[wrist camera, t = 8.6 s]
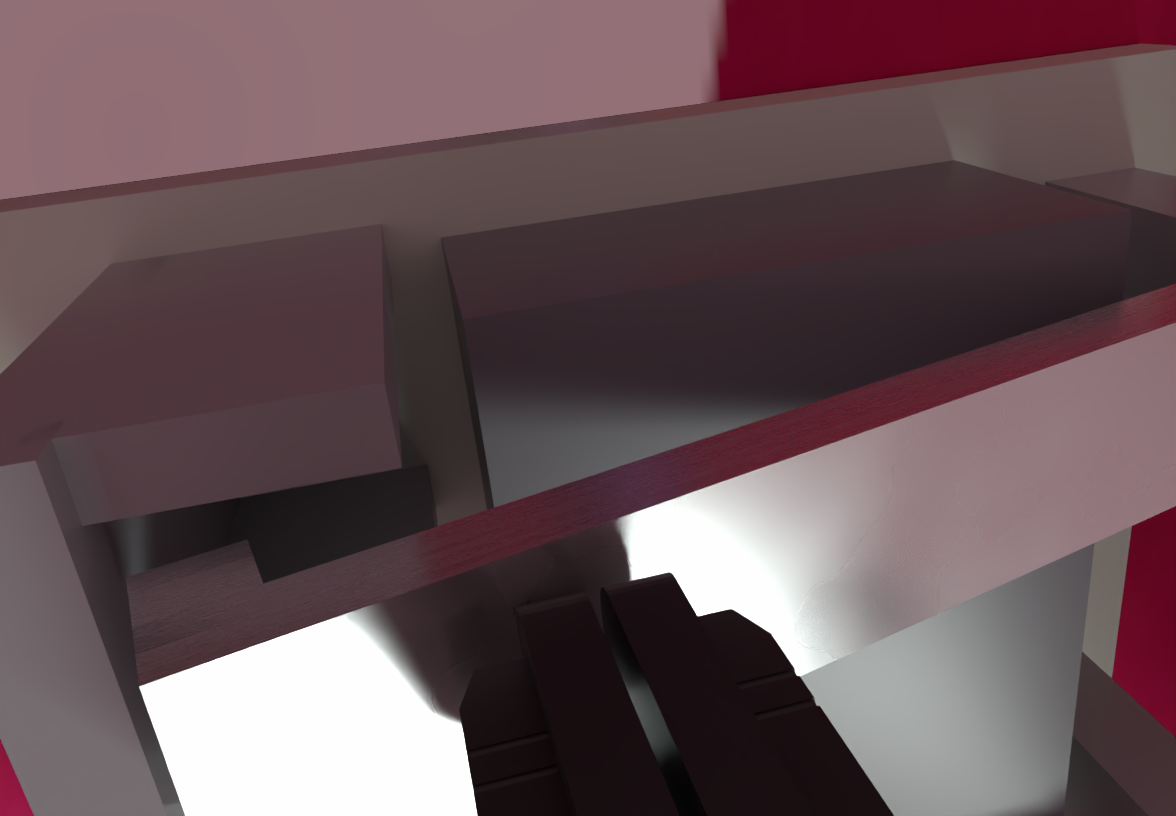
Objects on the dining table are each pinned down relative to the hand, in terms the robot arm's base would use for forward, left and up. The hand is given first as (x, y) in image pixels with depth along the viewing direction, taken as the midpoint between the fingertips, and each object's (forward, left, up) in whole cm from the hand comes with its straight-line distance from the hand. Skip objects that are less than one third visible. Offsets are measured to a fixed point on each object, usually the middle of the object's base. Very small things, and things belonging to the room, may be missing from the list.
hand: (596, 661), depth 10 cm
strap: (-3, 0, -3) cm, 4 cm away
